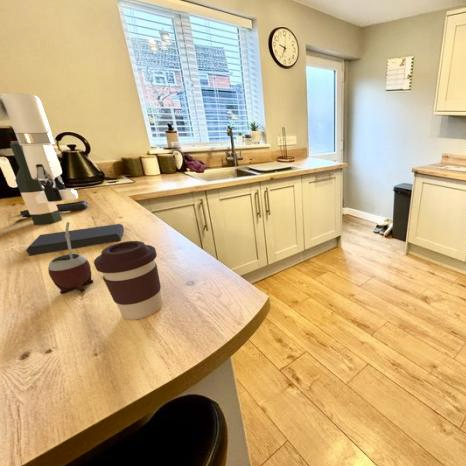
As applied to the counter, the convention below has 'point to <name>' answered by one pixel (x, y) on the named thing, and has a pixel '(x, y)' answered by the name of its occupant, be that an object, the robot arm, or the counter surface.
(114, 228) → the dark grey flat bar
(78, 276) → the mate gourd
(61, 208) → the door handle
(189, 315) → the counter surface
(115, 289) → the coffee cup
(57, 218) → the wine bottle
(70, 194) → the soap bar
